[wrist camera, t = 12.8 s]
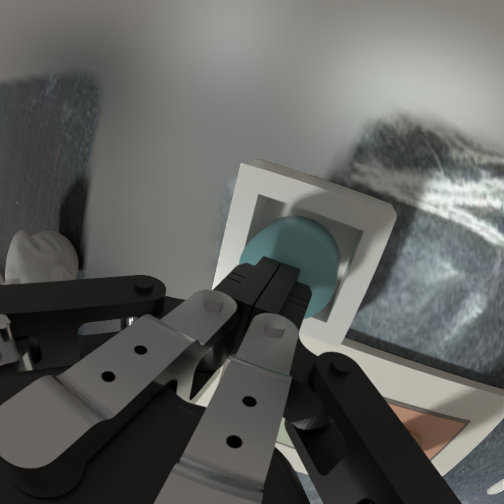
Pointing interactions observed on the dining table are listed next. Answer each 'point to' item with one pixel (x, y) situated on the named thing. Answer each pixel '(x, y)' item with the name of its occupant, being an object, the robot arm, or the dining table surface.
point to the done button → (300, 255)
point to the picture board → (413, 403)
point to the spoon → (496, 488)
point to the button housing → (324, 212)
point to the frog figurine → (40, 258)
